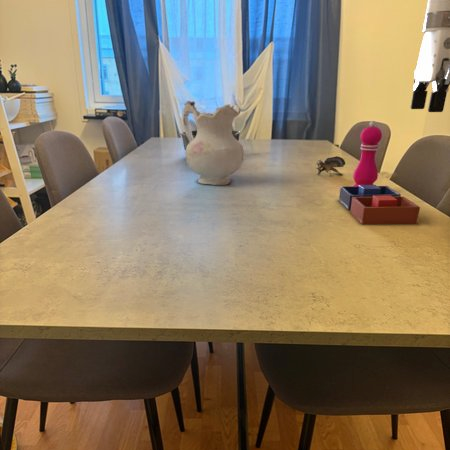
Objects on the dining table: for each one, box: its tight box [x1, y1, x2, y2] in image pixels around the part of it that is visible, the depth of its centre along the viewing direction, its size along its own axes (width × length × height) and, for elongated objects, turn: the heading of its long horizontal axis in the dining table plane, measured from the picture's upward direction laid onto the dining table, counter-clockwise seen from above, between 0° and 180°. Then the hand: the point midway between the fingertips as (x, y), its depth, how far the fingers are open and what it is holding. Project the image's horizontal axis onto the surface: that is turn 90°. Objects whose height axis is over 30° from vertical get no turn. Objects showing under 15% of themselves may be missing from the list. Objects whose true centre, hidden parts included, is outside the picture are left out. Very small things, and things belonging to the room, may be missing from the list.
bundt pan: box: [180, 129, 241, 152], centre depth 191 cm, size 26×26×10 cm
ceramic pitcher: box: [181, 100, 245, 186], centre depth 141 cm, size 22×20×25 cm
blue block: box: [358, 184, 381, 195], centre depth 117 cm, size 4×4×4 cm
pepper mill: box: [352, 120, 383, 186], centre depth 129 cm, size 7×7×20 cm
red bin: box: [349, 195, 421, 225], centre depth 107 cm, size 13×10×4 cm
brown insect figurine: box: [315, 155, 347, 177], centre depth 153 cm, size 8×7×9 cm
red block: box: [371, 195, 397, 207], centre depth 106 cm, size 4×4×4 cm
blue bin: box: [338, 185, 402, 212], centre depth 117 cm, size 13×10×4 cm
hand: (425, 110), depth 101 cm, fingers open, 9 cm apart
